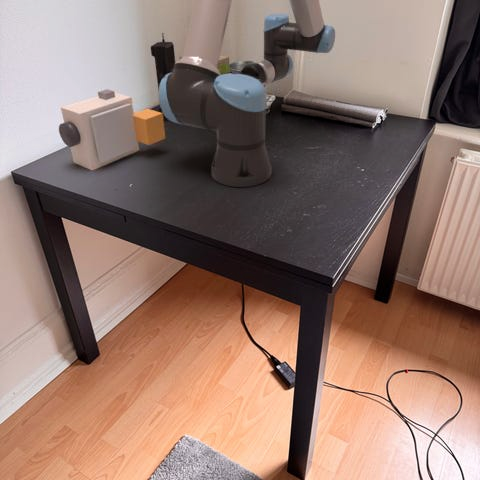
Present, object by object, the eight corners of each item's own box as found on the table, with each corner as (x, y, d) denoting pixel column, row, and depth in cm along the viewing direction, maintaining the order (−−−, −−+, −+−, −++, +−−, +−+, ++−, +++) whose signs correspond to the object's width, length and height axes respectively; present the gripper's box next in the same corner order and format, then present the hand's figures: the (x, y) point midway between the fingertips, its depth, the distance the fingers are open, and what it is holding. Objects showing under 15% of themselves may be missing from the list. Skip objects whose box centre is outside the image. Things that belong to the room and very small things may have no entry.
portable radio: (175, 122, 145) (167, 38, 131) (157, 121, 146) (147, 38, 132) (182, 113, 152) (175, 33, 137) (165, 112, 153) (157, 32, 138)
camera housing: (140, 150, 127) (132, 91, 118) (87, 173, 116) (72, 110, 106) (120, 143, 132) (111, 86, 122) (67, 165, 120) (52, 103, 111)
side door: (166, 145, 125) (161, 102, 119) (114, 167, 114) (105, 121, 107) (151, 139, 129) (145, 97, 122) (99, 161, 117) (89, 116, 110)
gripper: (290, 94, 136) (247, 115, 123) (226, 80, 149) (181, 98, 136) (291, 69, 132) (246, 88, 119) (225, 56, 145) (179, 72, 131)
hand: (211, 93), depth 127 cm, fingers open, 13 cm apart
